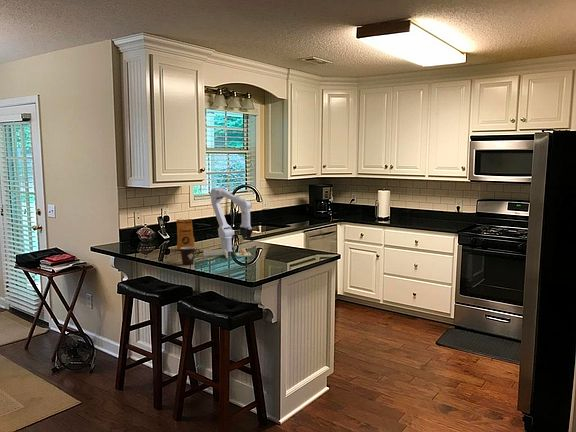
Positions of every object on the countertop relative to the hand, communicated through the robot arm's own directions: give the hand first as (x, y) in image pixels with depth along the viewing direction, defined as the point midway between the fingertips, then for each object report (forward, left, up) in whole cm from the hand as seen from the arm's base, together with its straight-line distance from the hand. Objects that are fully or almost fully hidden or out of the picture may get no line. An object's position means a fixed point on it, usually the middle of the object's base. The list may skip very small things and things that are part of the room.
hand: (246, 239), depth 314 cm
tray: (+5, -3, -10) cm, 11 cm away
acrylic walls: (+6, -21, -10) cm, 24 cm away
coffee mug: (+23, -38, -10) cm, 46 cm away
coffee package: (-27, -39, -10) cm, 48 cm away
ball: (+5, -3, -10) cm, 11 cm away
